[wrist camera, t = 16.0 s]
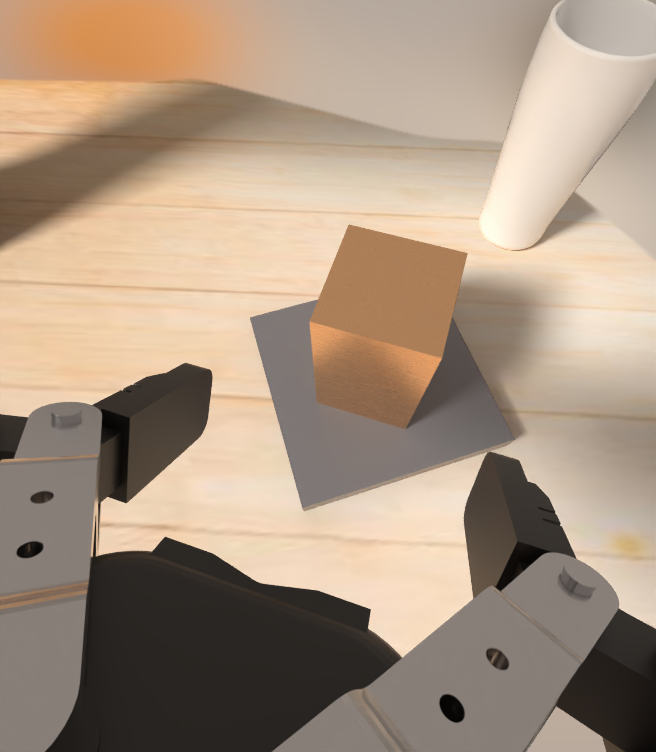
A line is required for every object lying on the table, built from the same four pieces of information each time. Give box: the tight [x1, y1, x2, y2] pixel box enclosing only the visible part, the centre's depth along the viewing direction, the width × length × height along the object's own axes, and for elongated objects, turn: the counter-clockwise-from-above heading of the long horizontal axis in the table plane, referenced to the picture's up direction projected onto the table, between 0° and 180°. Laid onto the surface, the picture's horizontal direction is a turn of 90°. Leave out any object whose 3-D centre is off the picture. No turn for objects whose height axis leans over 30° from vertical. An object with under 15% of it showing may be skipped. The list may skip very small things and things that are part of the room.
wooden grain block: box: [310, 225, 467, 429], centre depth 24 cm, size 6×6×10 cm
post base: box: [250, 300, 515, 511], centre depth 27 cm, size 14×14×8 cm
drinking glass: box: [479, 0, 656, 250], centre depth 29 cm, size 7×7×15 cm
